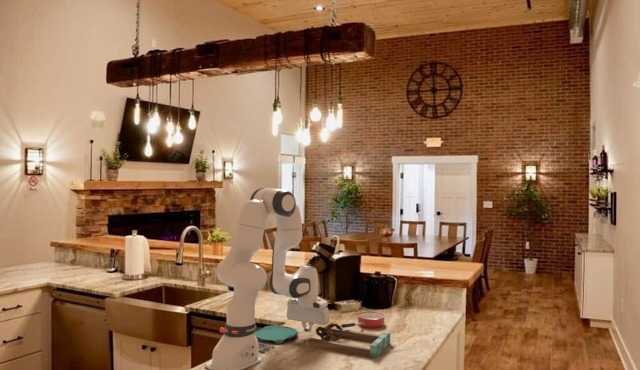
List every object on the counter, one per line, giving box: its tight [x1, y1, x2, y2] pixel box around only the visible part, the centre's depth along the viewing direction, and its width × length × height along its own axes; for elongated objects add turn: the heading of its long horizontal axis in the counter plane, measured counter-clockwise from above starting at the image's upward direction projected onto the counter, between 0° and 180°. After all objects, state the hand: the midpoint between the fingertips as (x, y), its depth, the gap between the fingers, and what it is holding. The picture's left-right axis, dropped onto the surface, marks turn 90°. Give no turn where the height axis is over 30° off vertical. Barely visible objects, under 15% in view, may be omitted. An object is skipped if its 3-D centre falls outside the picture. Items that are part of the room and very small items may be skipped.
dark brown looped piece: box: [315, 322, 343, 342], centre depth 221 cm, size 12×9×8 cm
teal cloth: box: [255, 324, 299, 354], centre depth 221 cm, size 20×30×2 cm, turn 150°
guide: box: [307, 327, 391, 359], centre depth 215 cm, size 19×30×5 cm, turn 64°
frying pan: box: [340, 311, 385, 329], centre depth 236 cm, size 32×13×6 cm, turn 150°
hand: (307, 331), depth 224 cm, fingers closed
